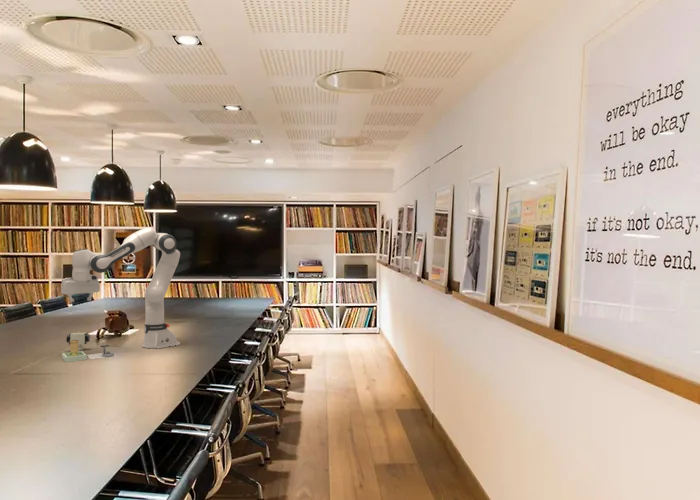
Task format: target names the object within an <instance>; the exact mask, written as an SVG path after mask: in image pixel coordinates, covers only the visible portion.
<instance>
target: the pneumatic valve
mask: <svg viewBox="0 0 700 500" xmlns="http://www.w3.org/2000/svg"><path fill="white" fill-rule="evenodd" d="M70 340H79V349H78V351H83V350H84V348H85V347H84V346H83V345H86V344H88V343H90V341H91V334H90V333H89V332H86V331H85V332H80V330H79V331H77V332H70V333H69V334H67V335H66V343H68V345H69V346H70Z"/></svg>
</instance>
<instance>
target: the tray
mask: <svg viewBox="0 0 700 500" xmlns="http://www.w3.org/2000/svg"><path fill="white" fill-rule="evenodd" d="M87 355H88V354H86V353H85V352H84V351H83V350H79V351H78V356H71V357H70V351H69V352H62V353H61V358H62V360H63V361H64V362H65V363H70V362H72V363H73V362H79V361H87V357H88V356H87Z"/></svg>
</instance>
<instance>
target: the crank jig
mask: <svg viewBox="0 0 700 500" xmlns="http://www.w3.org/2000/svg"><path fill="white" fill-rule="evenodd" d="M109 346H110V345H109V344H104V345H103V344H102V345H100V347H99V348H102V349H103V351H102V352H100V353H99V352H98V353H92V354H86V355H87V357H88V358H89V359H90V360H94V359H105V358H113V357H117V355H116V354H115V353H114V352H112V351H106V347H109Z"/></svg>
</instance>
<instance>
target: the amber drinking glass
mask: <svg viewBox="0 0 700 500" xmlns="http://www.w3.org/2000/svg"><path fill="white" fill-rule="evenodd" d="M78 349H79V340H70V345H69V352H70V357H71V356H78Z"/></svg>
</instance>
